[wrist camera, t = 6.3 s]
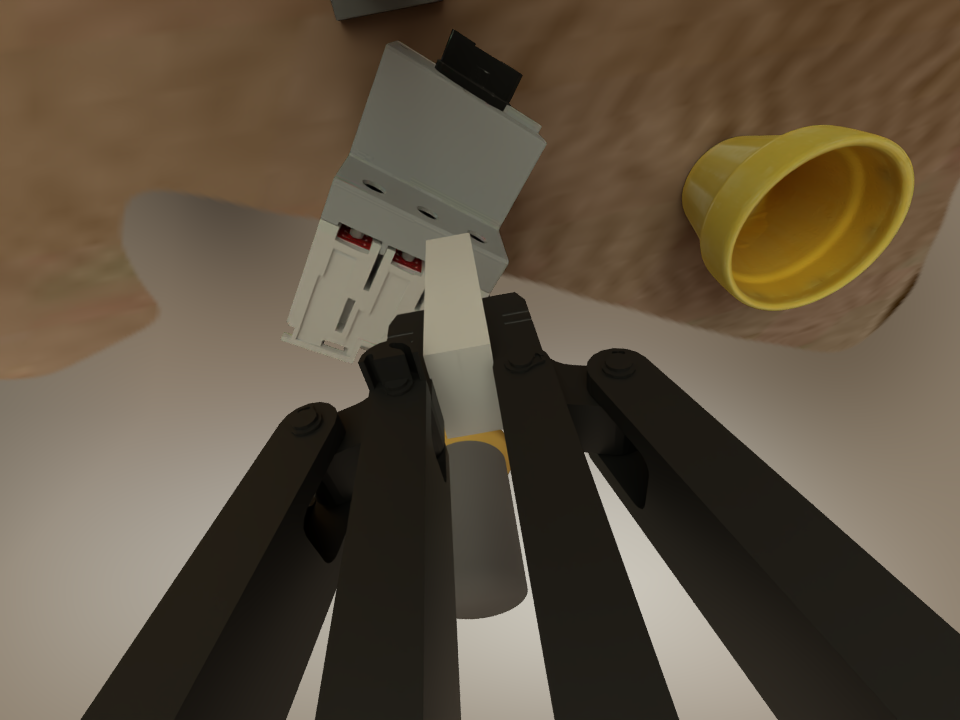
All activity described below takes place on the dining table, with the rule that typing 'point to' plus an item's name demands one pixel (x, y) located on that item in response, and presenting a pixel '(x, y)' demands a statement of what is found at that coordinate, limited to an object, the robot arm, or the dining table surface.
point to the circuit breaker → (414, 193)
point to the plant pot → (796, 211)
